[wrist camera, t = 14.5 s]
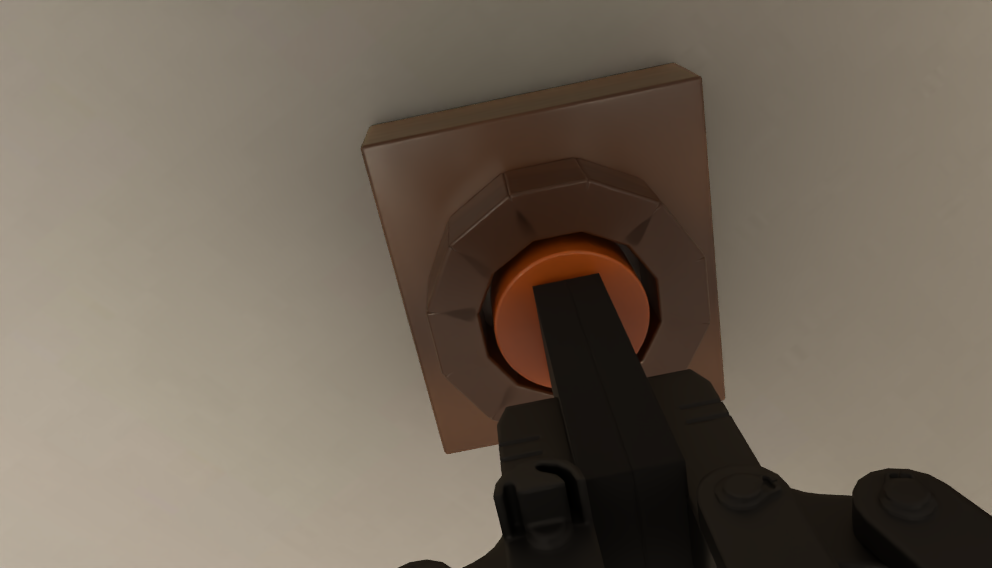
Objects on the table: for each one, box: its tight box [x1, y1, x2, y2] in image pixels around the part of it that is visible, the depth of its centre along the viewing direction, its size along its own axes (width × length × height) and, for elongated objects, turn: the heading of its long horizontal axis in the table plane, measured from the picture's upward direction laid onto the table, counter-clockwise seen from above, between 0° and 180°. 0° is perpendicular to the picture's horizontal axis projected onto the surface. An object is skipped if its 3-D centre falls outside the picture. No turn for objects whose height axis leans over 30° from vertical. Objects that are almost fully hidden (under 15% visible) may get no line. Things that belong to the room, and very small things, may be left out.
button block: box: [361, 63, 725, 454], centre depth 19 cm, size 9×8×4 cm
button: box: [490, 232, 650, 388], centre depth 18 cm, size 4×4×2 cm
